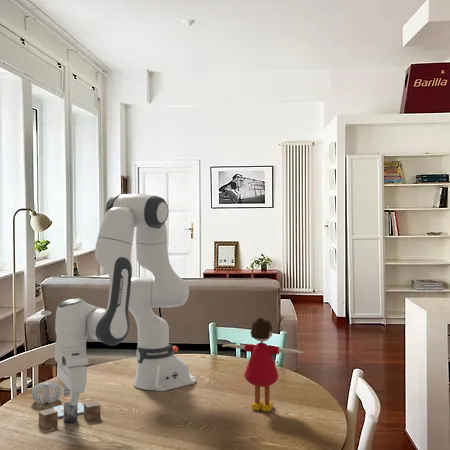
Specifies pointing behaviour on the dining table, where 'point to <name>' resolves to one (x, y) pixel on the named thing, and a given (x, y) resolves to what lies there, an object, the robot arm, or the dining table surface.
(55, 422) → the walnut cube
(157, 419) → the dining table surface
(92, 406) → the walnut cube
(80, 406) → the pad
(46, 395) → the pendant light
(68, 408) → the metal cylinder
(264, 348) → the toy
